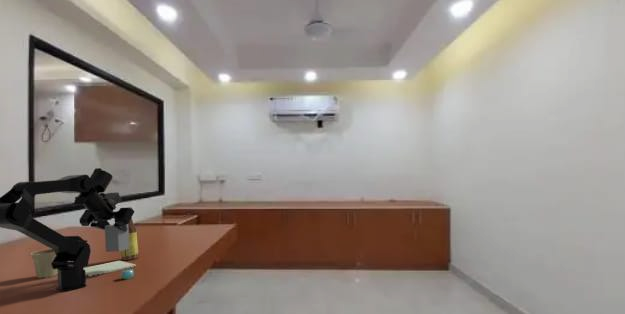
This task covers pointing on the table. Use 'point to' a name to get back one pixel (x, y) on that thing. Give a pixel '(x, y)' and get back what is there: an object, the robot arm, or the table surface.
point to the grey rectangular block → (116, 239)
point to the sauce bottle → (131, 243)
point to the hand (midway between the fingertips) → (119, 230)
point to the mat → (107, 267)
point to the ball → (127, 274)
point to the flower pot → (44, 263)
